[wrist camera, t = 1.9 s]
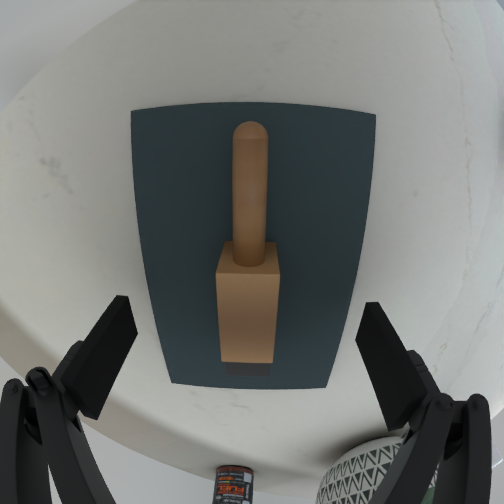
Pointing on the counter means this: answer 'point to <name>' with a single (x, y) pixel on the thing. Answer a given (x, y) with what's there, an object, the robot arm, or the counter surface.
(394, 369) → the robot arm
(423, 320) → the counter surface
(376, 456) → the planter
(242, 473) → the supplement bottle
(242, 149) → the scrub brush
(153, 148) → the mat
